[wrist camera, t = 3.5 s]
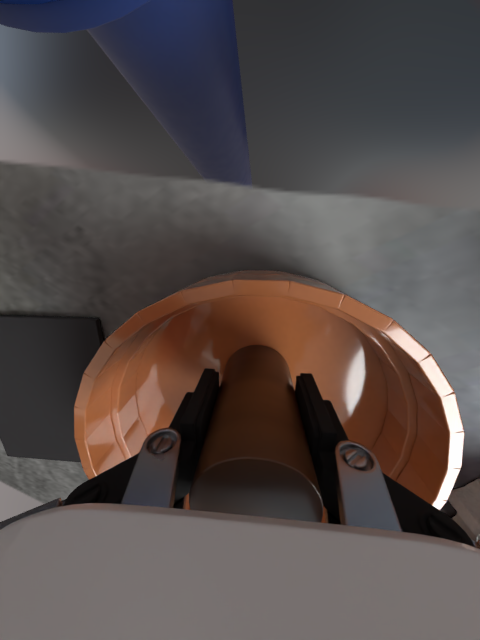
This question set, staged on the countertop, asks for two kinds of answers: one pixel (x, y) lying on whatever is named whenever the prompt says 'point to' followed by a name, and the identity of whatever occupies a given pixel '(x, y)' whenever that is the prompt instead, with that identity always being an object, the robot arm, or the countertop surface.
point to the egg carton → (467, 508)
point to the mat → (43, 382)
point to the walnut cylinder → (257, 445)
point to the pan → (301, 356)
